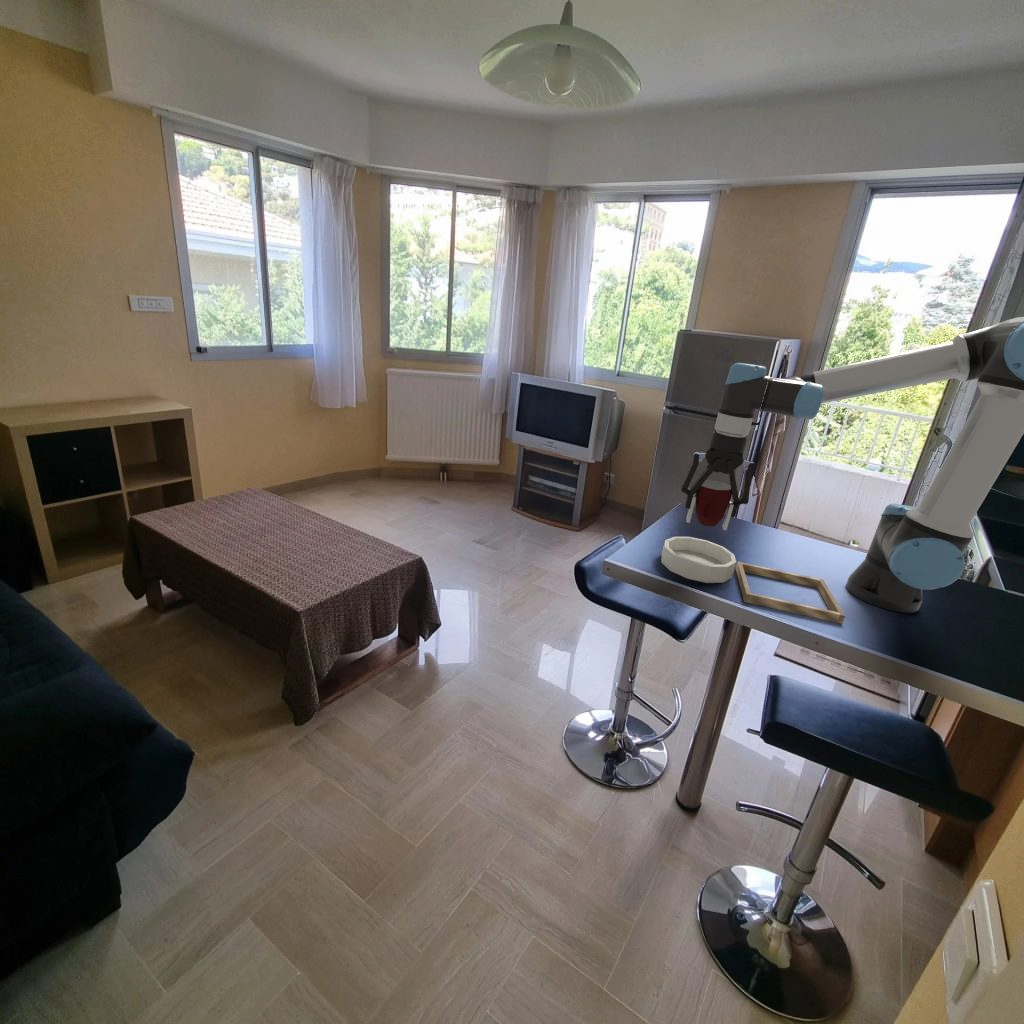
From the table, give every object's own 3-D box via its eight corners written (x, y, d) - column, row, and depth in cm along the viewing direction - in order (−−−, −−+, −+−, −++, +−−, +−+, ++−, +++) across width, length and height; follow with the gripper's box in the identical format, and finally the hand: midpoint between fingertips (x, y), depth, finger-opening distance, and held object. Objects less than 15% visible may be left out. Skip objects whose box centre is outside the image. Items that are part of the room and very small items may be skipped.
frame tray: (820, 586, 128) (823, 579, 127) (842, 623, 111) (845, 615, 110) (735, 568, 132) (737, 561, 131) (744, 601, 116) (746, 593, 115)
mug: (717, 535, 121) (725, 495, 117) (682, 526, 125) (690, 487, 121) (728, 523, 129) (736, 485, 125) (696, 515, 133) (703, 478, 130)
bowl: (727, 560, 137) (731, 545, 135) (734, 589, 121) (739, 572, 120) (661, 546, 140) (665, 531, 139) (660, 572, 125) (664, 556, 123)
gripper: (776, 438, 120) (748, 528, 128) (683, 423, 124) (663, 511, 133) (782, 444, 113) (752, 539, 121) (684, 428, 118) (662, 520, 126)
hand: (706, 524), depth 127 cm, fingers closed on mug, 8 cm apart
